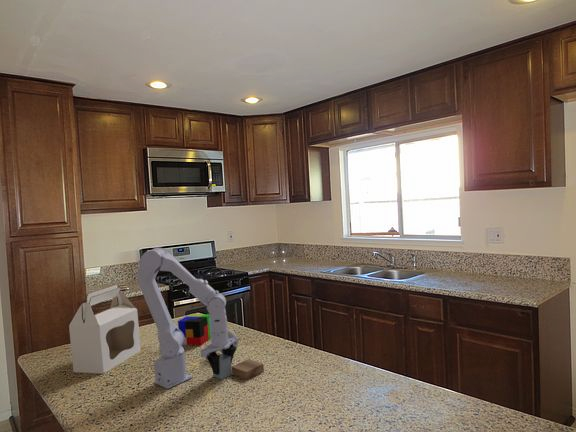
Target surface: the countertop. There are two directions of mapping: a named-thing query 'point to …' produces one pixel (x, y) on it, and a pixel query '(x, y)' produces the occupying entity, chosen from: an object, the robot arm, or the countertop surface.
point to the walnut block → (247, 369)
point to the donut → (231, 335)
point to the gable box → (104, 332)
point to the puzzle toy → (195, 329)
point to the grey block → (224, 367)
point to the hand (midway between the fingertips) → (222, 371)
